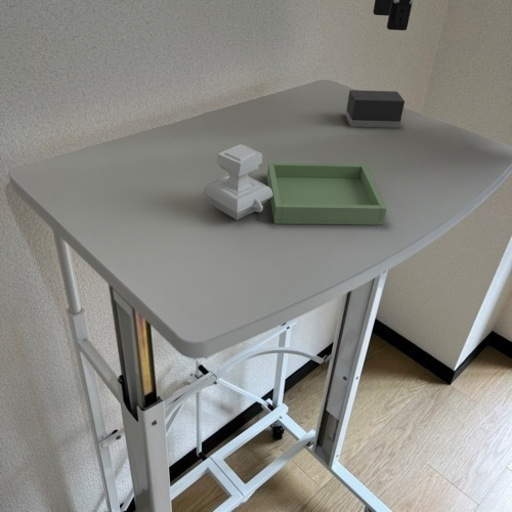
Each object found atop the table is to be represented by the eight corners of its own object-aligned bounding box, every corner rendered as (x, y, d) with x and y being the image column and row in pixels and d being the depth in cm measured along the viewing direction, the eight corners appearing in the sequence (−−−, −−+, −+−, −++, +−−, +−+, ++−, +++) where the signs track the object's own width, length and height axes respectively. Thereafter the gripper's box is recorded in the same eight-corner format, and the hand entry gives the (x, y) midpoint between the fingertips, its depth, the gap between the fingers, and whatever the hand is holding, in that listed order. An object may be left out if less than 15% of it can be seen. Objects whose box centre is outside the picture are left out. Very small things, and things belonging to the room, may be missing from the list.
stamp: (196, 205, 75) (196, 148, 70) (232, 189, 79) (233, 134, 74) (243, 233, 70) (246, 173, 65) (278, 214, 74) (283, 157, 69)
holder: (362, 179, 83) (365, 164, 82) (383, 225, 73) (386, 208, 72) (266, 178, 82) (268, 162, 81) (274, 223, 72) (275, 206, 70)
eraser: (392, 117, 104) (397, 91, 101) (399, 127, 100) (405, 101, 97) (345, 115, 104) (349, 89, 101) (350, 126, 100) (355, 99, 97)
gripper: (456, -92, 76) (426, 37, 86) (419, -101, 90) (397, 11, 100) (403, -96, 75) (379, 34, 85) (374, -105, 89) (356, 8, 99)
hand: (388, 21), depth 93 cm, fingers open, 9 cm apart
